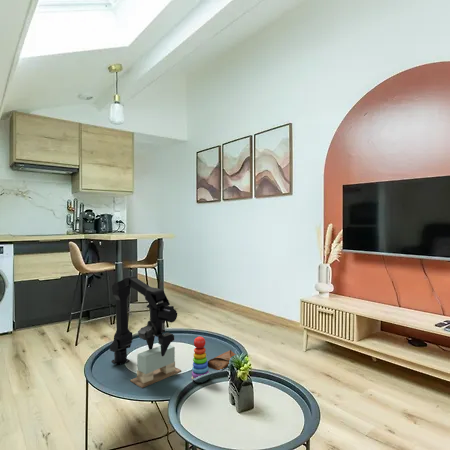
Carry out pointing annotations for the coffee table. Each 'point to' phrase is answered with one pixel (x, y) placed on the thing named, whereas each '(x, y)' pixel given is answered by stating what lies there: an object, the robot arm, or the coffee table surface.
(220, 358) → the sunglasses case
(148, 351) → the lintel
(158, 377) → the bridge base
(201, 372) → the stacking toy
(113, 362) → the robot arm
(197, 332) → the coffee table surface
